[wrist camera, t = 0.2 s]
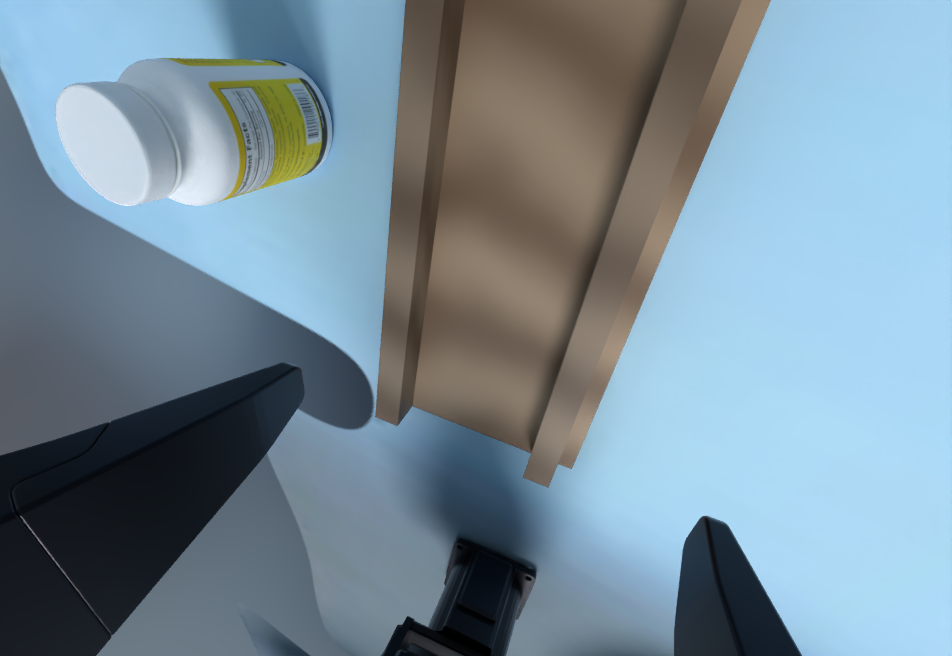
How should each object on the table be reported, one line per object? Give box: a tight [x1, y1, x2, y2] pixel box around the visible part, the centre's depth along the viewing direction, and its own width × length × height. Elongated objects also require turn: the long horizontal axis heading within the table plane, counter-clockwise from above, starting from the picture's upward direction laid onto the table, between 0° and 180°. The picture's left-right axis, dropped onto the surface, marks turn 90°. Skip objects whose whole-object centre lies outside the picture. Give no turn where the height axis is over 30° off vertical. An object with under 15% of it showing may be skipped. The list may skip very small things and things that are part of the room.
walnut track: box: [375, 0, 771, 487], centre depth 21 cm, size 26×13×3 cm, turn 170°
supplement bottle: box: [56, 58, 332, 206], centre depth 20 cm, size 5×5×10 cm
